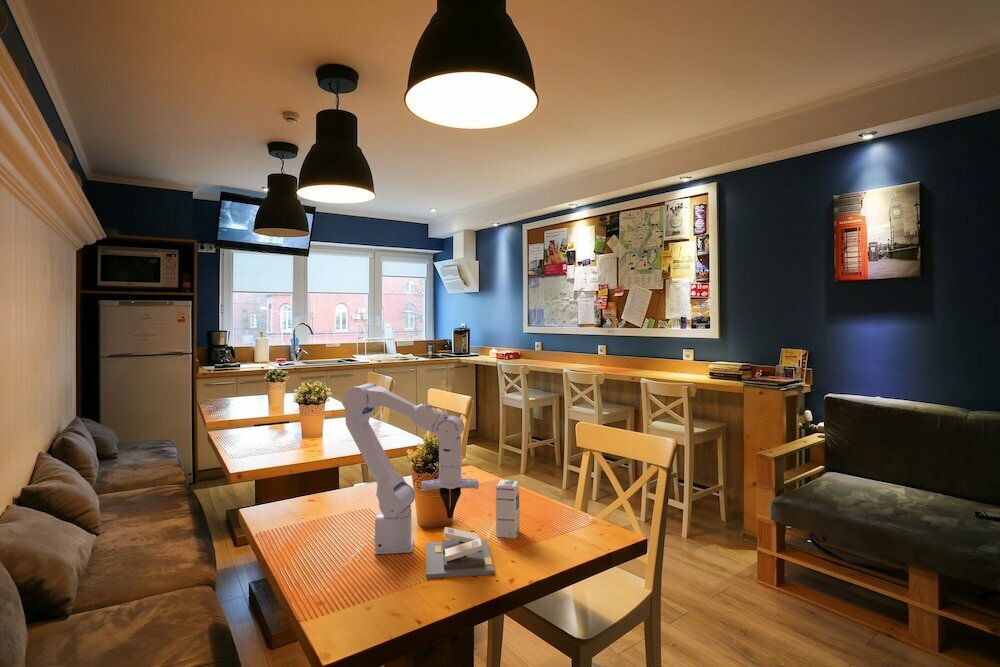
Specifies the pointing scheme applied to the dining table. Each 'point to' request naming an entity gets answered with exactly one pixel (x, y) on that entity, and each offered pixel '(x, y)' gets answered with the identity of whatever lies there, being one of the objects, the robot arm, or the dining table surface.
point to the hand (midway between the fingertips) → (450, 516)
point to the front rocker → (463, 549)
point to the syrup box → (507, 508)
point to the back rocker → (459, 535)
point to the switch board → (457, 561)
